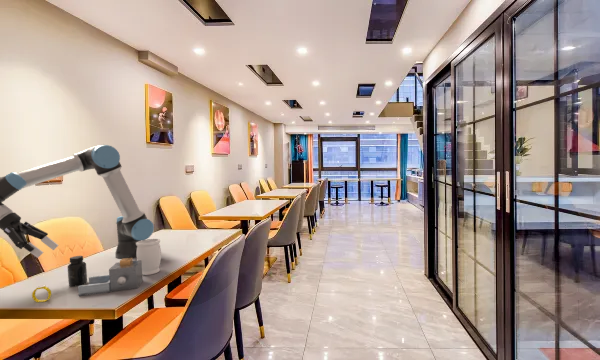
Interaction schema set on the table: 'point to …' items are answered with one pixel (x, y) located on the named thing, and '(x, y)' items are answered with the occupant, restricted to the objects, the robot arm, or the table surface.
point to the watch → (41, 288)
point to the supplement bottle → (77, 271)
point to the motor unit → (115, 278)
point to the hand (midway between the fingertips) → (48, 251)
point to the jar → (149, 255)
